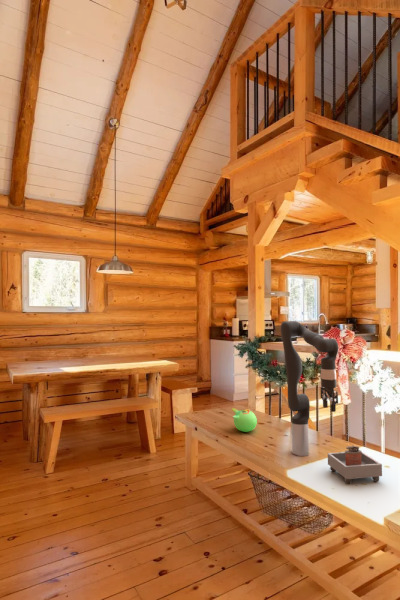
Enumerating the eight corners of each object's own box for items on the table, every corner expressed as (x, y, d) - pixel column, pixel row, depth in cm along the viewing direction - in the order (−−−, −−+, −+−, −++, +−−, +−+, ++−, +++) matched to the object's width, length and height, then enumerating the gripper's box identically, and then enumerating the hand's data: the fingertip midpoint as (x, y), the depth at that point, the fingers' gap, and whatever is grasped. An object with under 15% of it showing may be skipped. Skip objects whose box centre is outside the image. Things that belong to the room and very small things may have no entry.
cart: (327, 470, 198) (327, 453, 198) (360, 467, 200) (360, 450, 201) (346, 485, 180) (346, 466, 180) (382, 482, 183) (381, 464, 183)
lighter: (359, 464, 192) (359, 444, 193) (363, 467, 189) (362, 446, 189) (344, 465, 192) (343, 445, 192) (347, 468, 188) (346, 447, 189)
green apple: (258, 434, 256) (258, 412, 256) (232, 435, 256) (232, 412, 257) (255, 426, 274) (255, 405, 274) (231, 427, 274) (231, 406, 275)
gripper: (315, 375, 207) (316, 406, 206) (328, 380, 193) (329, 413, 192) (328, 375, 208) (329, 406, 208) (342, 379, 194) (343, 412, 193)
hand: (329, 409), depth 200 cm, fingers open, 8 cm apart
